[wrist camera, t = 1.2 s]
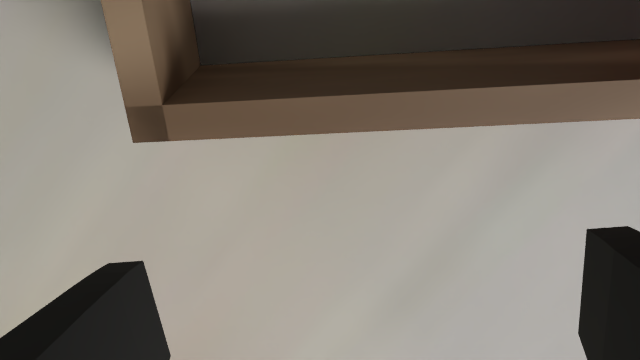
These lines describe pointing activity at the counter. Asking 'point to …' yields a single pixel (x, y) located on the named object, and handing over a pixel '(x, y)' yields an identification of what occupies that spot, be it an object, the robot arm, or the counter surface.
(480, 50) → the wooden tray
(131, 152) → the counter surface
